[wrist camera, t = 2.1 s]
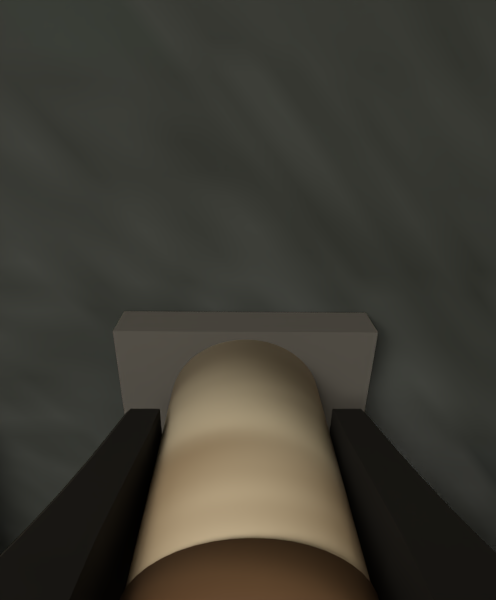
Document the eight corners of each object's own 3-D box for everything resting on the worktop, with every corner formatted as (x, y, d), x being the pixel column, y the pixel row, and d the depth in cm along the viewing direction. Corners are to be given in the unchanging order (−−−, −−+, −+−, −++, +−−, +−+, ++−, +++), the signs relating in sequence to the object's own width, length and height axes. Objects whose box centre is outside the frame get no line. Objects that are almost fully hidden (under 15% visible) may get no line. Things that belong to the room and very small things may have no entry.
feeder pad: (324, 583, 15) (329, 613, 14) (158, 584, 15) (153, 615, 14) (366, 312, 10) (378, 332, 9) (123, 310, 10) (112, 331, 9)
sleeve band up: (313, 458, 11) (386, 802, 6) (174, 458, 11) (109, 809, 5) (327, 338, 9) (446, 655, 4) (164, 337, 9) (59, 659, 4)
